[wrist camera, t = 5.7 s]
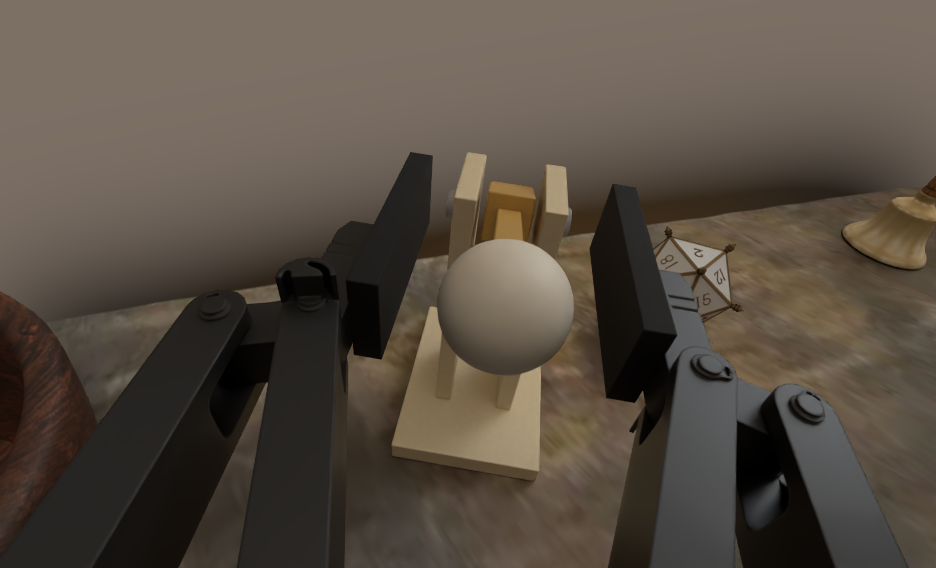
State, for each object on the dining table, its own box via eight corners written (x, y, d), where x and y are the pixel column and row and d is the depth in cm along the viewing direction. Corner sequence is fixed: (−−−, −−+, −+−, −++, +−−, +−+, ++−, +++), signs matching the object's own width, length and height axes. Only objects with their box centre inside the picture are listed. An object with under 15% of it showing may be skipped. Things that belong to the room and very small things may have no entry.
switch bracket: (534, 481, 28) (627, 281, 16) (391, 456, 28) (384, 241, 17) (538, 336, 37) (599, 140, 25) (429, 317, 37) (441, 116, 26)
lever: (563, 416, 11) (601, 280, 10) (418, 390, 11) (435, 252, 10) (535, 245, 24) (549, 177, 23) (469, 234, 24) (479, 166, 23)
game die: (624, 335, 43) (598, 236, 40) (712, 307, 42) (690, 205, 40) (668, 376, 34) (638, 252, 32) (779, 341, 34) (756, 212, 31)
